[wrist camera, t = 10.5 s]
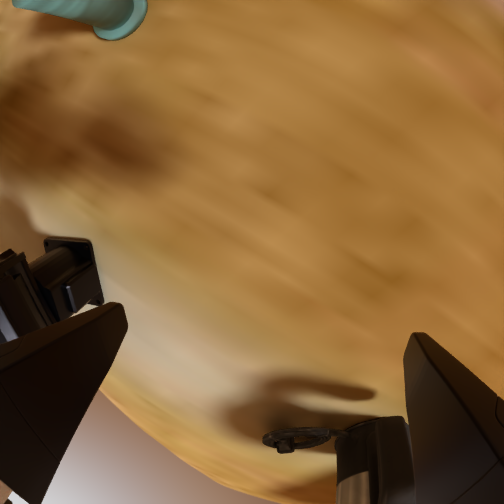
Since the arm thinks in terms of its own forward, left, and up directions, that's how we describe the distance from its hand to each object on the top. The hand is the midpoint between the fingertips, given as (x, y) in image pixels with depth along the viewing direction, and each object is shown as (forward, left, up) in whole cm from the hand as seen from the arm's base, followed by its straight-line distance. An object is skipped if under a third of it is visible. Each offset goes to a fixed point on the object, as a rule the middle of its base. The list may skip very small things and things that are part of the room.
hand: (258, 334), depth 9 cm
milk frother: (+8, -25, -13) cm, 29 cm away
